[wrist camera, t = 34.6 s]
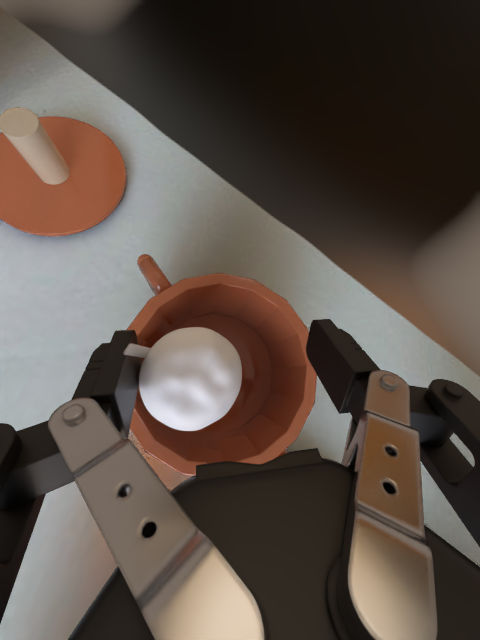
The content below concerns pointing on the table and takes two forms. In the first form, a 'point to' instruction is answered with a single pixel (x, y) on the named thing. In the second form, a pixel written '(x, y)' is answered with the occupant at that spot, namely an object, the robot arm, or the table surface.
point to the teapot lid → (56, 174)
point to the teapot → (257, 371)
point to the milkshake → (188, 377)
